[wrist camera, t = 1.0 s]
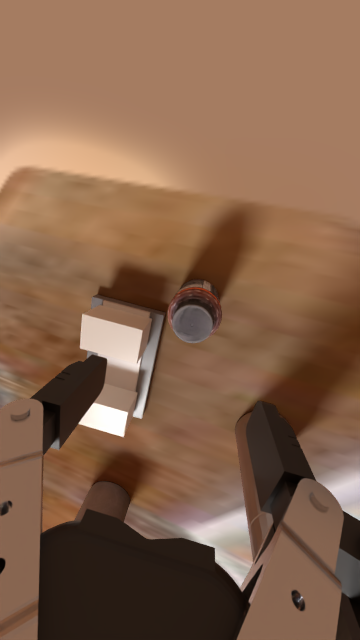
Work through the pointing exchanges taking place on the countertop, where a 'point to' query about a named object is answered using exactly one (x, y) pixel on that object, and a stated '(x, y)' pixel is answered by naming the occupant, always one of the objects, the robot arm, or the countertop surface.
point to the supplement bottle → (195, 311)
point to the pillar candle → (106, 500)
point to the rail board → (121, 359)
